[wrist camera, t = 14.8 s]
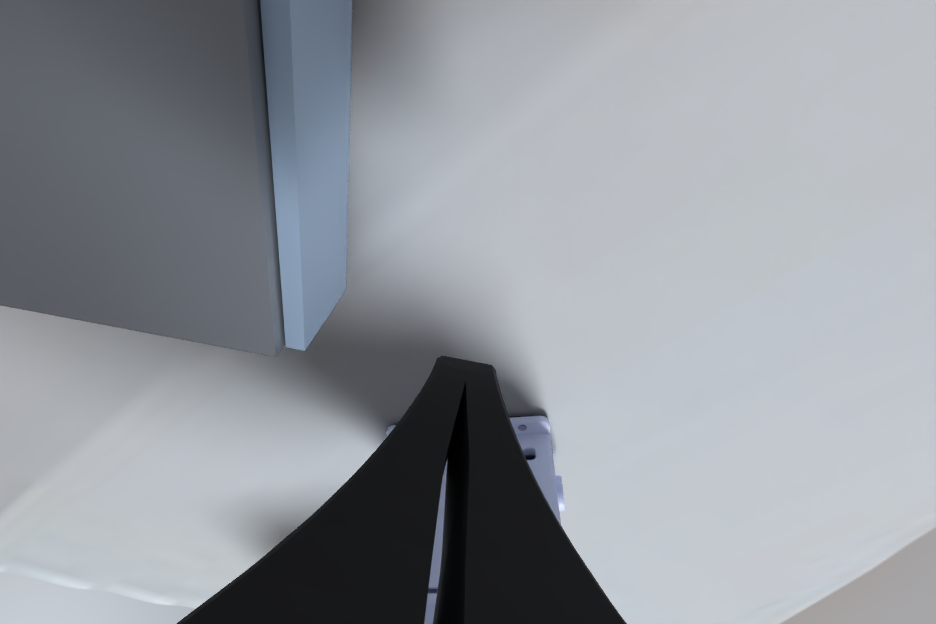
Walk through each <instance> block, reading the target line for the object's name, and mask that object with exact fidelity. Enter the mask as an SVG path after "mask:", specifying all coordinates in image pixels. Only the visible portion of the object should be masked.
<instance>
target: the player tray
mask: <svg viewBox="0 0 936 624" xmlns="http://www.w3.org/2000/svg"><path fill="white" fill-rule="evenodd" d="M260 6H261V19H262V33H263V46H264V60H265V73H266V87H267V100H268V114H269V127H270V141H271V154H272V168H273V181H274V195H275V208H276V222H277V235H278V249H279V262H280V276H281V289H282V303H283V316H284V330H285V343H286V347H287V348H292V349H297V350H303V351H305V350H306V348H307V347H308V346H309V344H310V343H311V341H312V340H313V338H314V337H315V335H316V334H317V332H318V331H319V329H320V328H321V326H322V325H323V323H324V322H325V320H326V319H327V317H328V316H329V314H330V313H331V311H332V310H333V308H334V307H335V305H336V304H337V302H338V301H339V299H340V298H341V296H342V295H343V294H344V292H345V291H346V263H347V219H348V175H349V131H350V87H351V42H352V0H260Z"/></svg>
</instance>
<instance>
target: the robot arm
mask: <svg viewBox="0 0 936 624" xmlns="http://www.w3.org/2000/svg"><path fill="white" fill-rule="evenodd" d="M520 425H525V426H520ZM386 436H387V438H386V439H385V440H384V441H383V443H382V444H381V445H380V446H379V447H378V448H377V450H376V451H375V452H374V453H373V454H372V455H371V456H370V458H369V459H368V460H367V461H366V462H365V463H364V464H363V465H362V466H361V467H360V468H359V469H358V470H357V472H356V473H355V474H354V475H353V476H352V477H351V478H350V479H349V480H348V481H347V482H346V483H345V484H344V485H343V486H342V487H341V488H340V489H339V490H338V491H337V492H336V493H335V494H334V495H333V496H332V497H331V498H330V499H329V500H328V501H327V502H325V503H324V504H323V505H322V506H321V507H320V508H319V509H318V510H317V511H316V512H315V513H314V514H313V515H312V516H310V517H309V518H308V519H307V520H306V521H305V522H304V523H303V524H301V525H300V526H299V527H298V528H297V529H295V530H294V531H293V532H292V533H291V534H290V535H288V536H287V537H286V538H285V539H284V540H283V541H281V542H280V543H279V544H278V545H277V546H275V547H274V548H273V549H272V550H271V551H270V552H268V553H267V554H266V555H265V556H264V557H263V558H261V559H260V560H259V561H258V562H256V563H255V564H254V565H253V566H251V567H250V568H249V569H248V570H246V571H245V572H244V573H243V574H241V575H240V576H239V577H237V578H236V579H235V580H233V581H232V582H231V583H229V584H228V585H227V586H225V587H224V588H223V589H221V590H220V591H219V592H218V593H216V594H215V595H214V596H212V597H211V598H210V599H208V600H207V601H206V602H204V603H203V604H202V605H200V606H199V607H198V608H196V609H195V610H194V611H192V612H191V613H190V614H188V615H187V616H186V617H185V618H183V619H182V620H181V621H179V622H178V623H177V624H626V622H625V621H624V620H623V618H622V617H621V616H620V614H619V613H618V611H617V610H616V609H615V607H614V606H613V605H612V603H611V602H610V601H609V599H608V598H607V596H606V595H605V593H604V592H603V590H602V589H601V587H600V586H599V584H598V583H597V581H596V580H595V578H594V577H593V575H592V574H591V572H590V571H589V569H588V568H587V566H586V565H585V563H584V562H583V560H582V559H581V557H580V556H579V554H578V553H577V551H576V550H575V548H574V546H573V545H572V543H571V542H570V540H569V538H568V537H567V535H566V533H565V531H564V530H563V528H562V526H561V521H560V513H559V511H564V510H565V504H564V494H563V486H562V479H561V476H555V469H554V461H553V452H552V443H551V435H550V425H549V420H548V419H547V418H546V417H544V416H529V417H513V418H509V415H508V413H507V410H506V407H505V404H504V401H503V398H502V394H501V391H500V387H499V384H498V380H497V376H496V370H495V369H494V367H493V366H492V365H488V364H483V363H477V362H472V361H467V360H462V359H457V358H451V357H446V356H441V357H439V358H437V360H436V363H435V366H434V368H433V370H432V372H431V374H430V376H429V378H428V380H427V381H426V383H425V385H424V386H423V388H422V390H421V391H420V393H419V394H418V396H417V397H416V399H415V400H414V402H413V403H412V405H411V406H410V407H409V409H408V410H407V412H406V413H405V415H404V416H403V417H402V419H401V420H400V421H399V423H398V424H397V425H392V426H390V427H388V429H387V432H386Z"/></svg>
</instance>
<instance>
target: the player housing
mask: <svg viewBox="0 0 936 624" xmlns="http://www.w3.org/2000/svg"><path fill="white" fill-rule="evenodd" d="M0 305H2V306H7V307H12V308H18V309H23V310H28V311H34V312H39V313H44V314H50V315H55V316H60V317H66V318H71V319H76V320H82V321H87V322H92V323H97V324H103V325H108V326H113V327H119V328H124V329H129V330H135V331H140V332H145V333H151V334H156V335H161V336H166V337H172V338H177V339H182V340H188V341H193V342H198V343H204V344H209V345H214V346H220V347H225V348H230V349H235V350H241V351H246V352H251V353H257V354H262V355H267V356H273V357H276V356H277V355H278V354H279V352H280V351H281V350H282V348H283V347H284V346H285V344H286V343H285V330H284V316H283V303H282V289H281V276H280V262H279V249H278V235H277V222H276V208H275V195H274V181H273V168H272V154H271V141H270V127H269V114H268V100H267V87H266V73H265V60H264V46H263V33H262V19H261V6H260V0H0Z"/></svg>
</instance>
